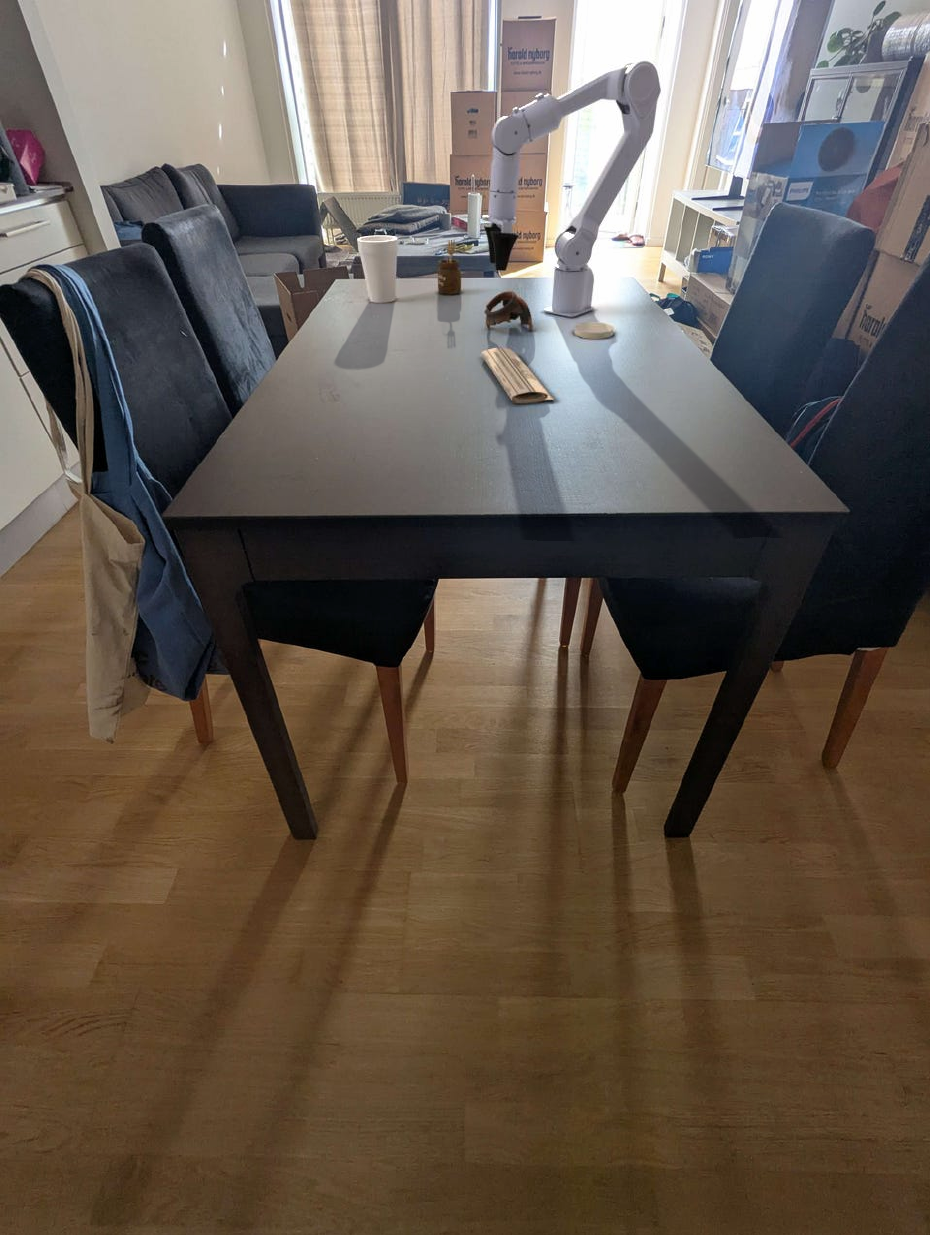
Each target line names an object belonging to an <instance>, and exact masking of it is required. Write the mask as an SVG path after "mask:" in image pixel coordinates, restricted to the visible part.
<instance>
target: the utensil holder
mask: <svg viewBox="0 0 930 1235" xmlns="http://www.w3.org/2000/svg"><path fill="white" fill-rule="evenodd" d="M455 241H456V240H455V239H451V240H450V239H449V240H447V241H446V240H445V241H444V242H443V244H447V248H445V245H442V250H445V252H444V255H448V256H449V258H446V256H443V257H444V259H441V260H439V261H438V270H437V291H438V293H439V294H441V295H446V296H447V295H448V296H449V295H458V294H461V292H462V272H461V269H460V261H459V260H458V259H453V255H454V254H455V245H456V242H455Z"/></svg>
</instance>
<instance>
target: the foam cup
mask: <svg viewBox="0 0 930 1235" xmlns="http://www.w3.org/2000/svg"><path fill="white" fill-rule="evenodd" d="M398 244H399V243H398V237H397V236H394V235H378V234H375V235H367V236H361V237H358V238H357V250H358V252H359V257H360V261H361V265H362V270H363V275H364V279H365V284H366V289H367V294H368V299H369V301H370V302H371V303H377V304H383V303H384V304H385V303H391V302H394V301H396V291H397V289H396V288H397V267H398V266H397V264H398V251H399V247H398Z"/></svg>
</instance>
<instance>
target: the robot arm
mask: <svg viewBox="0 0 930 1235" xmlns="http://www.w3.org/2000/svg"><path fill="white" fill-rule="evenodd" d="M659 77H660V76H659V72H658V70H657V68H656V66H655V64H653V63H651V62H650V61H647V60H642V61H639V62H636V63H626V64H624V65H622V66H621V67H617V68H613V69H610V70H608V71H607V70H606V71H604V72H601V73H599V74H598V75H596V76H594V77H593V78H590V79H589V80H587V81H586V82H584V83H582V84H580V85H579V86H576V87H574V89H572V90H570V91H568V92H566V93H565V94H563V95H561V96H559V97H558V98H557V97H555V96H554V95H552V94H550V93H547V94H545V95H544V94H543V93H539V94H537V95H536V96H534V97H535V100H533V101H532V102H530V103H528V104H526V105H525V106H522V107H520V108H518V106H517V107H514V108H513V109H512V111H511V112H512V114H508V115H506V116H502V117H500V118H499V119H497V120H496V122H495V124H494V125H493V127H492V132H491V133H490V139H491V143H492V146H493V150H492V155H491V156H492V162H491V163H490V164H491V166H490V179H489V180H490V181H489V184H490V185H489V195H488V196H489V198H488V211H487V212H488V213H487V215H482V216H481V220H482V221H484V222H488V223H491V224H490V225H489V224H486V225H483V228H484V231H485V235H486V239H487V244H488V245H487V246H488V255H489V262H490V264H494V266H495V270H496V271H498V272H499V271H500V272H501V271H502V272H503V271H504V272H505V271H507V268H508V266H509V261H510V257H511V253H512V251H513V248H514V246H515V244H516V242H517V240H518V238H519V233H513V225H514V224H516V222H517V217H516V214H517V203H518V202H517V200H518V191H519V190H518V189H519V180H520V179H519V178H520V169H521V167H520V166H521V164H520V158H521V150H522V148H523V146H524V145H529V144H531V143H534V142H535V141H537V140H539V139H541V138H543V137H545V136H547V135H548V134H551V133H553V132H555V131H557V130H558V129H559V127H560V124H561V122H562V120H563V118H565V117H567V116H569V115H571V114H573V113H575V112H577V111H580V110H582V109H584V108H587V107H588V106H590V105H593V104H594V103H596V102H599V101H600V100H606V101H615V103H616V105H617V107H618V110H619V111H620V113H621V119H622V124H623V133H622V135H621V136H620V139H619V141H617V144H616V146H615V147H614V149H613V151H612V153H611V155H610V157H609V158H608V160H607V162H606V164H605V166H604V167H603V169H602V170H601V172H600V175H599V176H598V178H597V180H596V182H595V183H594V186H593V187H592V189H591V191H590V193H589V194H588V196H587V197H586V200H585V201H584V204H583V206H582V207H581V209H580V210H579V212H578V214H576V216H575V217H573V219H572V220H571V221H570V223H569V224H568V226H567V228H565V230H563V231H562V232H561V233H560V234H559V235H558V236H557V238H556V239H555V243H554V253H555V255H556V257H557V258H558V259H557V261H556V263H555V265H554V272H553V284H552V285H553V287H552V298H551V301H552V302H551V306H550V307H547V308H544V309H543V312H544V313H549V314H553V315H559V316H562V317H563V316H564V317H568V318H574V317H576V316H580V315H582V314H585V313H587V312H590V311H594V309H595V306H592V302H593V292H594V284H595V275H594V272H593V270H592V268H591V267H589V264H588V263H589V261H590V260H591V257H592V253H593V247H594V245H595V243H596V242H597V239H598V234H599V228H600V226H601V224H602V223H603V221H604V219H605V217H606V216H607V214H608V212H609V211H610V209H611V208H612V205H613V204H614V202H615V200H616V198H617V196H618V195H619V194H620V192H621V190H622V189H623V186H624V184H625V183H626V181H627V179H628V178H629V176H630V174H631V173H632V170H633V169H634V167H635V165H636V163H637V162H638V160H639V159H640V157H641V155H642V153H643V152H644V150H645V148H646V146H648V143H649V141H650V140H651V138H652V135H653V133H654V129H655V128H654V127H655V121H656V114H657V113H656V112H657V107H658V101H659V97H660V95H661V92H662V89H661V83H660V78H659Z"/></svg>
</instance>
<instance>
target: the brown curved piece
mask: <svg viewBox="0 0 930 1235" xmlns="http://www.w3.org/2000/svg"><path fill="white" fill-rule="evenodd" d="M501 303H502V306H503V307H501V308H498V309H497V310H494V311H492V310H493V309H494V308H495V307H497V306H498V305H499V304H501ZM484 314H485V315H486V316H485V326H486V328H487V329H488V330H490V329H491V326H494V327H495V326H496V325H500V324H502V323H504V322H506V323H509V324H511V321H516V320H518V318H519V320H520V325H521V326H524V325H525V326H526V325H527V326H528V329H529V332H532V331H533V329H534V326H533V319H532V313H531V311H530V308H529V305H528V303H527V302H526V300H524V299H523V298H522V297H520V296H519V295H517V293H516V292H515V291H514V290H506V291H503V292H500V293H498V294H497V295H496V296H494V297H492V298H491V300H489V301H488V303H487V304H486V305H485V310H484Z"/></svg>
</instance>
